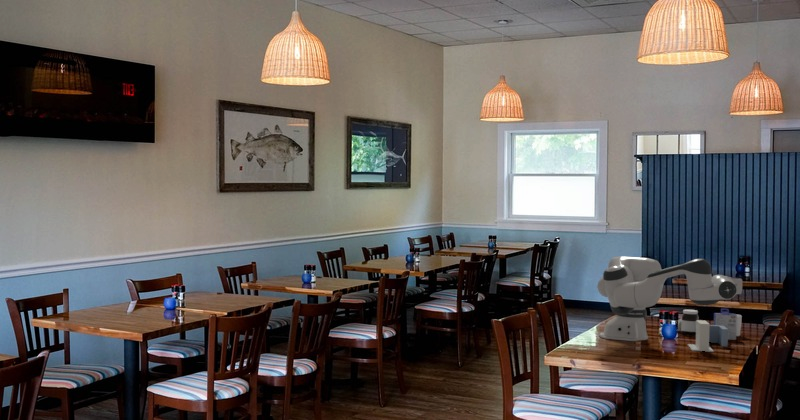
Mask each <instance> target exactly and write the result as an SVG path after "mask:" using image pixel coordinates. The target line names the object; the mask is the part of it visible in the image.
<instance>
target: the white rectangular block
mask: <svg viewBox="0 0 800 420" xmlns="http://www.w3.org/2000/svg"><path fill="white" fill-rule="evenodd" d="M710 325H711V324H710V323H709V322H708V321H707V320H701V319H699V320H696V335H695V345H696V348H697V349H698V350H699V351H698V352H702V351H709V346H710V343H709V327H710Z"/></svg>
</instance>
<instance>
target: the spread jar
mask: <svg viewBox="0 0 800 420" xmlns="http://www.w3.org/2000/svg"><path fill="white" fill-rule="evenodd" d="M682 313H683V314H682V316H681V318H679V319H678V320H677V321H678V331H677V332H681V334H683V335H687V334H690V335H691V336H696V320H700V319H699V318H700V317H699V315H698V313H699V311H698V310H697V309H696V310H695V309H683V310H682ZM690 335H689V336H690Z"/></svg>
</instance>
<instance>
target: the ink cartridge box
mask: <svg viewBox="0 0 800 420" xmlns="http://www.w3.org/2000/svg"><path fill="white" fill-rule="evenodd" d="M737 315H738V314H737ZM737 315H736V313H731V312H730V309H729V308H722V307H721V308H720V312H713V325H719V326H725V327H726V328H727V329H728V341H729V340H730V341H731V340H733V341H736V340H737V336H736V321H737Z"/></svg>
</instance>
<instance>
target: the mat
mask: <svg viewBox="0 0 800 420" xmlns="http://www.w3.org/2000/svg"><path fill="white" fill-rule="evenodd" d="M687 347H688V348H689V347H690V348H689V349H690V350H691V351H692V352H700V351H699V350H698V349H697V348H696V343H695V344H693V343H688V344H687ZM705 352H707V353H714V352H715V351H714V349H713V348H712V347H711V346H710V345H709V351H705Z"/></svg>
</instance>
